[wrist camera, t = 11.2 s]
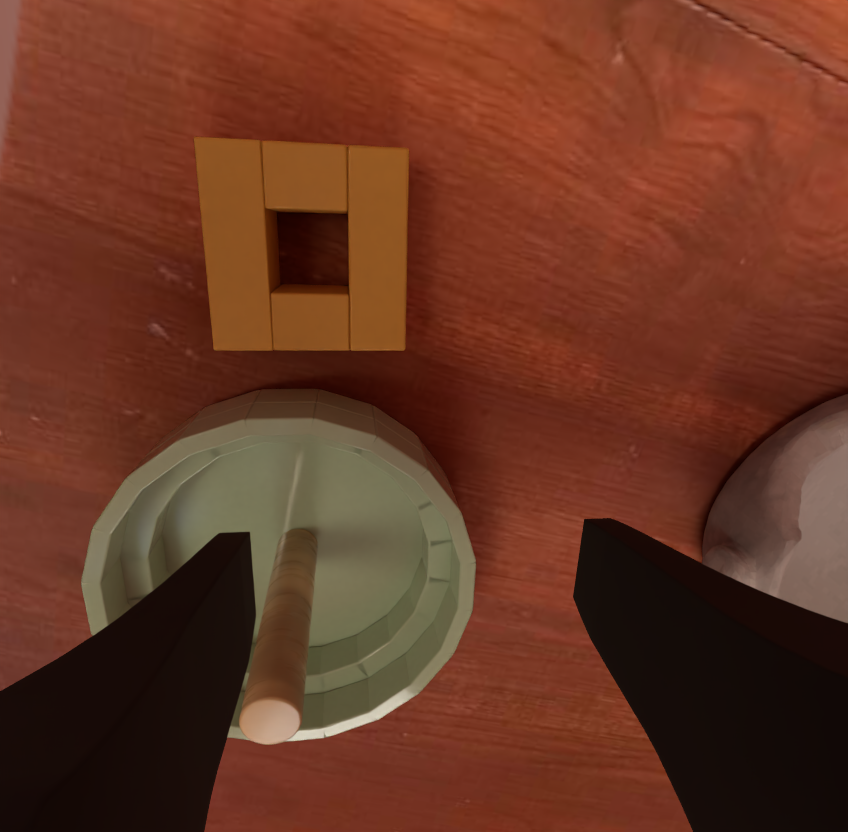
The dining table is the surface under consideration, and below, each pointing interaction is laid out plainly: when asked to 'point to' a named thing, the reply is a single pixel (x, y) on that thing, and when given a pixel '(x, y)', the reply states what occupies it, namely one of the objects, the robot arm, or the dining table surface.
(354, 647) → the bowl
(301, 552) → the stick
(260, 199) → the stand
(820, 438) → the dish
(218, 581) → the robot arm
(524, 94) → the dining table surface
